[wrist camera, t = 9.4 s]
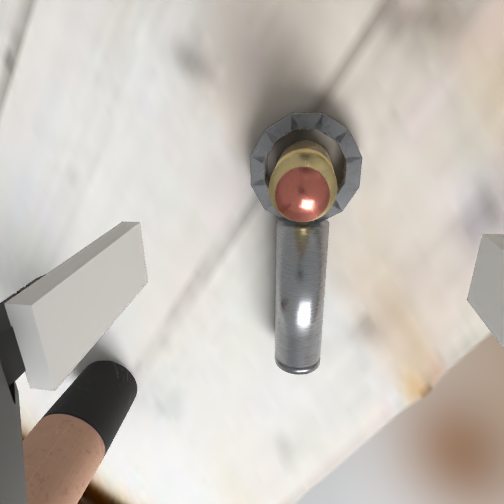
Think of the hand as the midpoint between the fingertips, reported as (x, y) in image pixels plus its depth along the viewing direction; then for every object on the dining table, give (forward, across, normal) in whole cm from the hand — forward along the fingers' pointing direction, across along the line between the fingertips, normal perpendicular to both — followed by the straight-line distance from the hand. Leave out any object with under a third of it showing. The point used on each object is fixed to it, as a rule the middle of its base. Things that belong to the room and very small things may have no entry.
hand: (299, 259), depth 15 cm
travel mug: (+21, -23, -27) cm, 41 cm away
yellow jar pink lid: (+21, 0, 0) cm, 21 cm away
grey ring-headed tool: (+21, 0, -7) cm, 22 cm away
